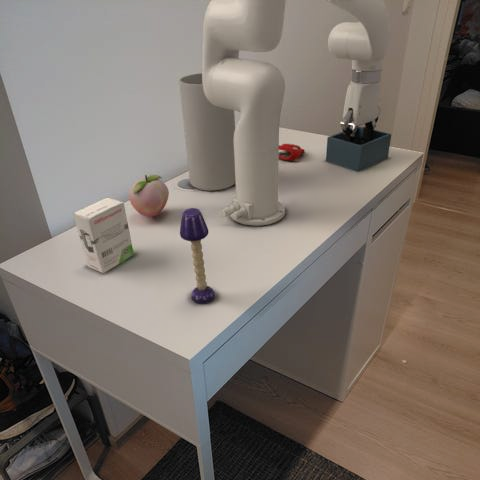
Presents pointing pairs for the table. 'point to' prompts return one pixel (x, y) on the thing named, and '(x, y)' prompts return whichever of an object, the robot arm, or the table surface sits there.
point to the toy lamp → (197, 251)
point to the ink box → (104, 234)
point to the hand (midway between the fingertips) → (358, 146)
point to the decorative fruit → (149, 195)
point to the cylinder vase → (207, 137)
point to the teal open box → (357, 150)
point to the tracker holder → (291, 151)
